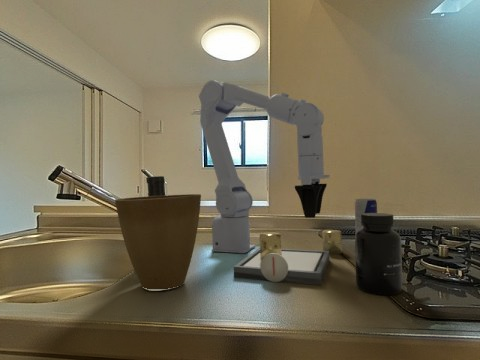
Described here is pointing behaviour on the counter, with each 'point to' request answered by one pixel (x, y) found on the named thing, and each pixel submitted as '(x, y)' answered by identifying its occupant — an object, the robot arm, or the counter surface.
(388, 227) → the supplement bottle
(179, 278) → the plant pot
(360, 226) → the energy drink
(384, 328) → the counter surface
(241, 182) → the robot arm
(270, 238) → the cylinder
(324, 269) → the scale
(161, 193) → the sauce bottle
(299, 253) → the pan
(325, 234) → the cylinder
